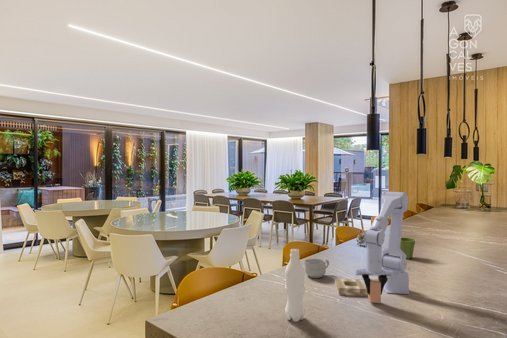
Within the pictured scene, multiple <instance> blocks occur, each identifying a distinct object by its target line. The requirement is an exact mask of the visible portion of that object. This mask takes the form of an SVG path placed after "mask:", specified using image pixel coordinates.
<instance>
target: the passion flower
mask: <svg viewBox="0 0 507 338" xmlns="http://www.w3.org/2000/svg"><path fill="white" fill-rule="evenodd" d="M366 231H367V230H366ZM366 231H364V232H361V233H360V232H359V233H358V234H357V236H356V237H355V238H354V239H353V240H354V241H356V242H357V243H356V244H357V245H358V246H359V245H361V246H365V242H364V234H365V232H366Z"/></svg>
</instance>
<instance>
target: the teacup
mask: <svg viewBox="0 0 507 338" xmlns="http://www.w3.org/2000/svg"><path fill="white" fill-rule="evenodd" d="M303 262H304V271H305V275H307V276H308V277H309V278H312V279H313V278H314V279H320V278H322V277H323V276H324V275H325V274H326V272H327V271H326V269H327V268H329V265H330V262H329V260H328V259H326V258H325V259H323V258H306V259H304V261H303Z"/></svg>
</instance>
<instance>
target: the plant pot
mask: <svg viewBox="0 0 507 338" xmlns="http://www.w3.org/2000/svg"><path fill="white" fill-rule="evenodd" d="M416 241H417V239H416V238H412V237H402V236H401V245H400V249H401V250H402V251H403V252H404V253H405V254H406V258H407V259H406V260H409V259H410V258H412V259H413V256H414V249H415V245H416ZM398 257H400V256H398Z"/></svg>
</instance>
